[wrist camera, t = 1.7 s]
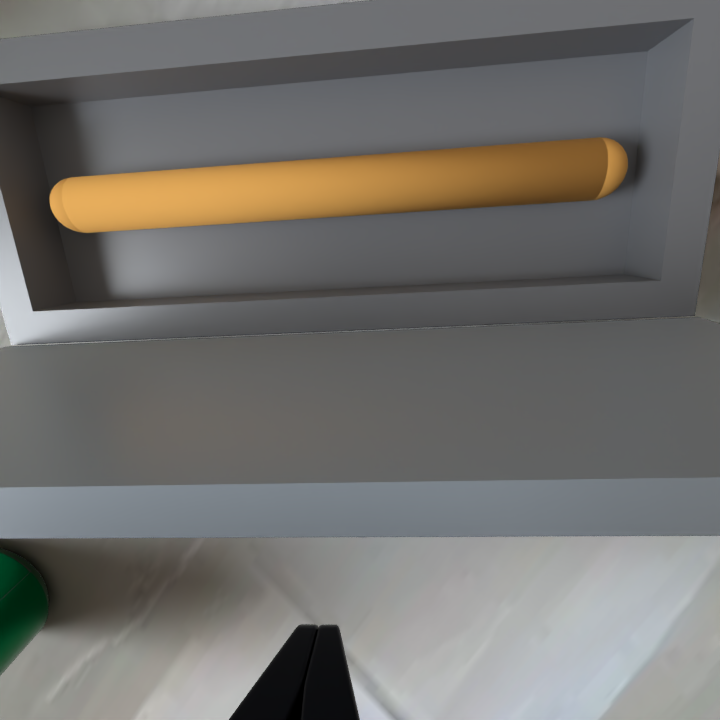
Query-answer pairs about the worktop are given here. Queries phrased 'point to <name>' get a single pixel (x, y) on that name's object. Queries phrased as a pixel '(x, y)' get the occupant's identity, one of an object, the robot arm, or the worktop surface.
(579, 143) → the orange rounded rod
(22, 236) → the grey rectangular tray
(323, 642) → the robot arm
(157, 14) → the worktop surface
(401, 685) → the worktop surface
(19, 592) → the soda can
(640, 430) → the cover
